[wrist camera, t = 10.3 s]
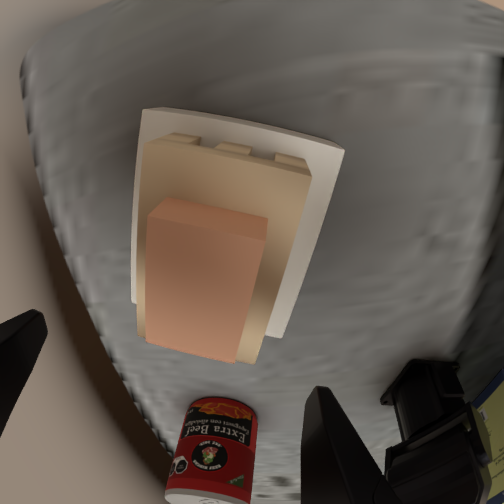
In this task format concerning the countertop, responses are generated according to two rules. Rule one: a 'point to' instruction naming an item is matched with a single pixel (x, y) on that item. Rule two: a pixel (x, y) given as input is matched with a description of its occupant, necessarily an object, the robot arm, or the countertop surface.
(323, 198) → the white flat block
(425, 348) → the countertop surface
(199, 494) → the canned food
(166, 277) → the block
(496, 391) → the protein box
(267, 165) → the pallet
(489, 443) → the robot arm
